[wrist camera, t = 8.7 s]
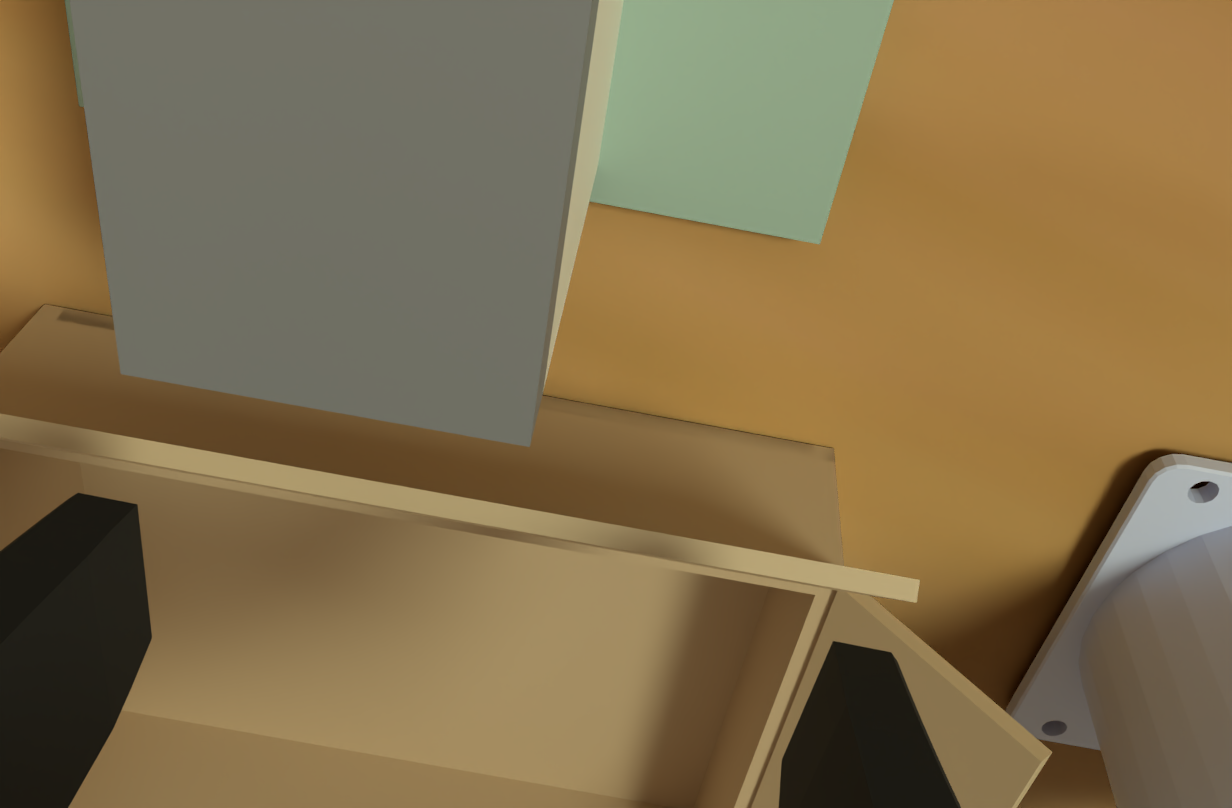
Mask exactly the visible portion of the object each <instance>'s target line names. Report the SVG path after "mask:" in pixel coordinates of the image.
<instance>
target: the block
mask: <svg viewBox="0 0 1232 808" xmlns="http://www.w3.org/2000/svg"><path fill="white" fill-rule="evenodd" d="M69 1H70V8H71V15H72V23H73V30H74V37H75V45H76V52H77V59H78V66H79V74H80V81H81V88H82V96H83V103H84V110H85V118H86V125H87V132H88V139H89V147H90V154H91V161H92V169H93V176H94V183H95V190H96V198H97V205H98V212H99V220H100V227H101V234H102V241H103V249H104V256H105V263H106V271H107V278H108V285H109V292H110V300H111V307H112V314H113V322H114V329H115V336H116V344H117V351H118V358H119V365H120V373H121V374H123V375H128V376H134V377H140V378H145V379H151V380H156V381H162V382H168V383H173V384H179V385H184V386H190V387H196V388H201V389H207V390H212V391H218V392H224V393H229V394H235V395H240V396H246V397H252V398H257V399H263V400H268V401H274V402H280V403H285V404H291V405H296V406H302V407H308V408H313V409H319V410H325V411H330V412H336V413H341V414H347V415H353V416H358V417H364V418H369V419H375V420H381V421H386V422H392V423H397V424H403V425H409V426H414V427H420V428H425V429H431V430H437V431H442V432H448V433H453V434H459V435H465V436H470V437H476V438H481V439H487V440H493V441H498V442H504V443H509V444H515V445H521V446H526V447H530V444H531V440H532V436H533V432H534V428H535V424H536V420H537V415H538V411H539V407H540V403H541V399H542V395H543V391H544V387H545V382H546V378H547V374H548V370H549V366H550V362H551V358H552V353H553V349H554V345H555V341H556V337H557V333H558V329H559V325H560V320H561V316H562V312H563V308H564V304H565V300H566V296H567V291H568V287H569V283H570V279H571V275H572V271H573V267H574V263H575V258H576V254H577V250H578V246H579V242H580V238H581V234H582V229H583V225H584V221H585V217H586V213H587V209H588V205H589V201H590V196H591V192H592V188H593V184H594V180H595V176H596V172H597V167H598V162H599V156H600V149H601V143H602V137H603V130H604V124H605V117H606V111H607V105H608V98H609V92H610V85H611V79H612V72H613V66H614V60H615V53H616V47H617V40H618V34H619V28H620V21H621V15H622V8H623V2H624V0H69Z"/></svg>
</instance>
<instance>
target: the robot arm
mask: <svg viewBox="0 0 1232 808" xmlns="http://www.w3.org/2000/svg"><path fill="white" fill-rule="evenodd" d="M1202 481H1210V482H1209V483H1208V484H1207V485H1206V486H1203V487H1201V488H1198V489H1190V488H1191V487H1192V486H1193V485H1194V484H1197V483H1199V482H1202ZM151 639H152V632H151V623H150V614H149V605H148V595H147V586H146V577H145V568H144V559H143V550H142V541H141V532H140V523H139V514H138V505H137V504H133V503H128V502H123V501H118V500H113V499H108V498H103V497H98V496H93V495H88V494H82V493H77V494H75V495H74V496H72V497H70V498H69V499H67V500H66V501H65V502H63V503H62V504H61V505H59V506H58V507H57V508H55V509H54V510H53V511H51V512H50V513H49V514H47V515H46V516H45V517H44V518H42V519H41V520H40V521H38V522H37V523H36V524H34V525H33V526H32V527H31V528H29V529H28V530H27V531H25V532H24V533H23V534H21V535H20V536H19V537H18V538H16V539H15V540H14V541H12V542H11V543H10V544H9V545H7V546H6V547H5V548H3V549H2V550H1V551H0V808H68V807H69V805H70V804H71V802H72V800H73V799H74V797H75V795H76V793H77V792H78V790H79V788H80V786H81V785H82V783H83V781H84V779H85V778H86V776H87V774H88V772H89V771H90V769H91V767H92V766H93V764H94V762H95V760H96V759H97V757H98V755H99V753H100V752H101V750H102V748H103V746H104V744H105V743H106V741H107V739H108V737H109V736H110V734H111V732H112V730H113V728H114V726H115V724H116V722H117V719H118V717H119V715H120V713H121V710H122V708H123V706H124V704H125V701H126V699H127V697H128V695H129V692H130V690H131V688H132V685H133V683H134V681H135V678H136V676H137V673H138V671H139V668H140V666H141V664H142V661H143V659H144V656H145V654H146V652H147V649H148V647H149V644H150V642H151ZM1005 712H1006V713H1008V714H1009V715H1010V716H1011V717H1012V718H1013V719H1015V720H1016V721H1017V722H1018V723H1019V724H1020V725H1021V726H1023V727H1024V728H1025V729H1026V730H1027V731H1028V732H1030V733H1031V734H1032V735H1033V736H1034V737H1035V738H1037V739H1040V740H1045V741H1051V742H1056V743H1062V744H1068V745H1073V746H1079V747H1084V748H1090V749H1096V750H1101V753H1102V757H1103V760H1104V764H1105V768H1106V771H1107V775H1108V778H1109V782H1110V785H1111V789H1112V792H1113V796H1114V799H1115V803H1116V807H1117V808H1232V463H1228V462H1223V461H1217V460H1212V459H1206V458H1201V457H1195V456H1190V455H1185V454H1170V455H1166V456H1162V457H1159V458H1158V459H1156V460H1154V461H1152V462H1151V463H1150V464H1149V465H1148V466H1147V467H1146V468H1145V470H1144V471H1143V473H1142V475H1141V476H1140V478H1139V480H1138V481H1137V483H1136V485H1135V487H1134V488H1133V490H1132V492H1131V494H1130V495H1129V497H1128V499H1127V500H1126V502H1125V504H1124V506H1123V507H1122V509H1121V511H1120V512H1119V514H1118V516H1117V518H1116V519H1115V521H1114V523H1113V525H1112V526H1111V528H1110V530H1109V531H1108V533H1107V535H1106V537H1105V538H1104V540H1103V542H1102V544H1101V545H1100V547H1099V549H1098V550H1097V552H1096V554H1095V556H1094V557H1093V559H1092V561H1091V562H1090V564H1089V566H1088V568H1087V569H1086V571H1085V573H1084V575H1083V576H1082V578H1081V580H1080V581H1079V583H1078V585H1077V587H1076V588H1075V590H1074V592H1073V593H1072V595H1071V597H1070V599H1069V600H1068V602H1067V604H1066V606H1065V607H1064V609H1063V611H1062V612H1061V614H1060V616H1059V618H1058V619H1057V621H1056V623H1055V625H1054V626H1053V628H1052V630H1051V631H1050V633H1049V635H1048V637H1047V638H1046V640H1045V642H1044V643H1043V645H1042V647H1041V649H1040V650H1039V652H1038V654H1037V656H1036V657H1035V659H1034V661H1033V662H1032V664H1031V666H1030V668H1029V669H1028V671H1027V673H1026V675H1025V676H1024V678H1023V680H1022V681H1021V683H1020V685H1019V687H1018V688H1017V690H1016V692H1015V693H1014V695H1013V697H1012V699H1011V700H1010V702H1009V704H1008V706H1007V707H1006V711H1005ZM779 808H961V806H960V804H959V802H958V800H957V798H956V796H955V793H954V791H953V789H952V787H951V785H950V783H949V781H948V778H947V776H946V774H945V772H944V770H943V767H942V765H941V763H940V761H939V758H938V756H937V754H936V752H935V749H934V747H933V745H932V743H931V740H930V738H929V736H928V734H927V731H926V729H925V727H924V724H923V722H922V720H921V717H920V715H919V712H918V710H917V708H916V705H915V703H914V701H913V698H912V696H911V693H910V691H909V688H908V686H907V683H906V681H905V679H904V676H903V674H902V671H901V669H900V666H899V664H898V661H897V660H896V659H895V657H894V656H893V654H892V653H891V652H887V651H882V650H877V649H872V648H867V647H862V646H857V645H852V644H847V643H842V642H836V641H833V642H832V644H831V647H830V649H829V651H828V654H827V656H826V658H825V661H824V663H823V665H822V668H821V670H820V672H819V675H818V677H817V679H816V682H815V684H814V686H813V688H812V691H811V693H810V695H809V698H808V700H807V702H806V705H805V707H804V709H803V712H802V714H801V716H800V719H799V721H798V723H797V726H796V728H795V730H794V732H793V735H792V737H791V739H790V742H789V744H788V746H787V749H786V751H785V753H784V756H783V758H782V763H781V778H780V794H779Z"/></svg>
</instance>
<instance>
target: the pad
mask: <svg viewBox="0 0 1232 808" xmlns="http://www.w3.org/2000/svg"><path fill="white" fill-rule="evenodd" d="M893 1H894V0H624V2H623V8H622V15H621V21H620V28H619V34H618V40H617V47H616V53H615V60H614V66H613V72H612V79H611V85H610V92H609V98H608V105H607V111H606V117H605V124H604V130H603V137H602V143H601V149H600V156H599V162H598V167H597V172H596V176H595V180H594V184H593V188H592V192H591V196H590V202H596V203H601V204H606V205H612V206H617V207H622V208H628V209H633V210H638V211H644V212H649V213H655V214H660V215H665V216H671V217H676V218H681V219H687V220H692V221H697V222H703V223H708V224H714V225H719V226H724V227H730V228H735V229H740V230H746V231H751V232H756V233H762V234H767V235H773V236H778V237H783V238H789V239H794V240H799V241H805V242H810V243H815V244H820V242H821V239H822V235H823V232H824V229H825V225H826V222H827V219H828V216H829V212H830V209H831V206H832V202H833V199H834V196H835V192H836V189H837V186H838V183H839V179H840V176H841V173H842V169H843V166H844V163H845V159H846V156H847V153H848V150H849V146H850V143H851V140H852V136H853V133H854V130H855V127H856V123H857V120H858V117H859V113H860V110H861V107H862V103H863V100H864V97H865V94H866V90H867V87H868V84H869V80H870V77H871V74H872V71H873V67H874V64H875V61H876V57H877V54H878V51H879V47H880V44H881V41H882V38H883V34H884V31H885V28H886V24H887V21H888V18H889V15H890V11H891V8H892V5H893ZM65 6H66V13H67V21H68V28H69V36H70V43H71V50H72V58H73V65H74V73H75V80H76V87H77V95H78V102H79V106H81V107H84V103H83V96H82V88H81V81H80V74H79V66H78V59H77V52H76V45H75V37H74V30H73V23H72V15H71V8H70V1H69V0H65Z"/></svg>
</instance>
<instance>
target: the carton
mask: <svg viewBox="0 0 1232 808" xmlns="http://www.w3.org/2000/svg"><path fill="white" fill-rule="evenodd" d="M77 493H82V494H88V495H93V496H98V497H103V498H108V499H113V500H118V501H123V502H128V503H133V504H137V505H138V514H139V523H140V532H141V541H142V550H143V559H144V568H145V577H146V586H147V595H148V605H149V614H150V623H151V632H152V639H151V642H150V644H149V647H148V649H147V652H146V654H145V656H144V659H143V661H142V664H141V666H140V668H139V671H138V673H137V676H136V678H135V681H134V683H133V685H132V688H131V690H130V692H129V695H128V697H127V699H126V701H125V704H124V706H123V708H122V710H121V713H120V715H119V717H118V719H117V722H116V724H115V726H114V728H113V730H112V732H111V734H110V736H109V737H108V739H107V741H106V743H105V744H104V746H103V748H102V750H101V752H100V753H99V755H98V757H97V759H96V760H95V762H94V764H93V766H92V767H91V769H90V771H89V772H88V774H87V776H86V778H85V779H84V781H83V783H82V785H81V786H80V788H79V790H78V792H77V793H76V795H75V797H74V799H73V800H72V802H71V804H70V805H69V807H68V808H779V794H780V778H781V763H782V758H783V756H784V753H785V751H786V749H787V746H788V744H789V742H790V739H791V737H792V735H793V732H794V730H795V728H796V726H797V723H798V721H799V719H800V716H801V714H802V712H803V709H804V707H805V705H806V702H807V700H808V698H809V695H810V693H811V691H812V688H813V686H814V684H815V682H816V679H817V677H818V675H819V672H820V670H821V668H822V665H823V663H824V661H825V658H826V656H827V654H828V651H829V649H830V647H831V644H832V642H833V641H836V642H842V643H847V644H852V645H857V646H862V647H867V648H872V649H877V650H882V651H887V652H891V653H892V654H893V656H894V657H895V659H896V660H897V661H898V664H899V666H900V669H901V671H902V674H903V676H904V679H905V681H906V683H907V686H908V688H909V691H910V693H911V696H912V698H913V701H914V703H915V705H916V708H917V710H918V712H919V715H920V717H921V720H922V722H923V724H924V727H925V729H926V731H927V734H928V736H929V738H930V740H931V743H932V745H933V747H934V749H935V752H936V754H937V756H938V758H939V761H940V763H941V765H942V767H943V770H944V772H945V774H946V776H947V778H948V781H949V783H950V785H951V787H952V789H953V791H954V793H955V796H956V798H957V800H958V802H959V804H960V806H961V808H1017V807H1018V805H1019V803H1020V802H1021V800H1022V799H1023V797H1024V796H1025V794H1026V793H1027V791H1028V789H1029V788H1030V786H1031V785H1032V783H1033V782H1034V780H1035V779H1036V777H1037V775H1038V774H1039V772H1040V771H1041V769H1042V768H1043V766H1044V765H1045V763H1046V761H1047V760H1048V758H1049V757H1050V755H1051V754H1052V751H1051V750H1049V749H1048V748H1047V747H1046V746H1045V745H1044V744H1042V743H1041V742H1040V741H1039V740H1038V739H1037V738H1035V737H1034V736H1033V735H1032V734H1031V733H1030V732H1028V731H1027V730H1026V729H1025V728H1024V727H1023V726H1021V725H1020V724H1019V723H1018V722H1017V721H1016V720H1015V719H1013V718H1012V717H1011V716H1010V715H1009V714H1008V713H1006V712H1005V711H1004V710H1003V709H1002V708H1001V707H999V706H998V705H997V704H996V703H995V702H994V701H992V700H991V699H990V698H989V697H988V696H987V695H985V694H984V693H983V692H982V691H981V690H980V689H978V688H977V687H976V686H975V685H974V684H973V683H971V682H970V681H969V680H968V679H967V678H966V677H964V676H963V675H962V674H961V673H960V672H959V671H957V670H956V669H955V668H954V667H953V666H952V665H950V664H949V663H948V662H947V661H946V660H945V659H943V658H942V657H941V656H940V655H939V654H938V653H937V652H935V651H934V650H933V649H932V648H931V647H930V646H928V645H927V644H926V643H925V642H924V641H923V640H921V639H920V638H919V637H918V636H917V635H916V634H914V633H913V632H912V631H911V630H910V629H909V628H907V627H906V626H905V625H904V624H903V623H902V622H900V621H899V620H898V619H897V618H896V617H895V616H893V615H892V614H891V613H890V612H889V611H888V610H886V609H885V608H884V607H883V606H882V605H881V604H879V603H878V602H877V601H876V600H875V599H874V598H872V597H871V596H875V597H881V598H888V599H895V600H902V601H908V602H915V603H917V597H918V590H919V583H920V580H918V579H912V578H907V577H901V576H896V575H890V574H885V573H879V572H873V571H868V570H862V569H857V568H851V567H846V566H844V560H843V549H842V537H841V526H840V514H839V502H838V491H837V479H836V468H835V456H834V449H833V448H828V447H822V446H817V445H811V444H806V443H800V442H795V441H789V440H784V439H779V438H773V437H768V436H762V435H757V434H751V433H746V432H740V431H735V430H729V429H724V428H718V427H713V426H707V425H702V424H697V423H691V422H686V421H680V420H675V419H669V418H664V417H658V416H653V415H647V414H642V413H636V412H631V411H625V410H620V409H615V408H609V407H604V406H598V405H593V404H587V403H582V402H576V401H571V400H565V399H560V398H554V397H549V396H543V395H542V399H541V403H540V407H539V411H538V415H537V420H536V424H535V428H534V432H533V436H532V440H531V444H530V447H526V446H521V445H515V444H509V443H504V442H498V441H493V440H487V439H481V438H476V437H470V436H465V435H459V434H453V433H448V432H442V431H437V430H431V429H425V428H420V427H414V426H409V425H403V424H397V423H392V422H386V421H381V420H375V419H369V418H364V417H358V416H353V415H347V414H341V413H336V412H330V411H325V410H319V409H313V408H308V407H302V406H296V405H291V404H285V403H280V402H274V401H268V400H263V399H257V398H252V397H246V396H240V395H235V394H229V393H224V392H218V391H212V390H207V389H201V388H196V387H190V386H184V385H179V384H173V383H168V382H162V381H156V380H151V379H145V378H140V377H134V376H128V375H123V374H121V373H120V365H119V358H118V351H117V344H116V336H115V329H114V322H113V317H112V316H106V315H101V314H95V313H90V312H84V311H79V310H73V309H68V308H63V307H57V306H52V305H46V304H44V305H43V306H42V307H41V308H40V310H39V311H38V312H37V313H36V314H35V315H34V316H33V317H32V318H31V320H30V321H29V322H28V323H27V324H26V325H25V326H24V327H23V328H22V329H21V331H20V332H19V333H18V334H17V335H16V336H15V337H14V338H13V339H12V340H11V342H10V343H9V344H8V345H7V346H6V347H5V348H4V349H3V350H2V352H1V353H0V551H1V550H2V549H3V548H5V547H6V546H7V545H9V544H10V543H11V542H12V541H14V540H15V539H16V538H18V537H19V536H20V535H21V534H23V533H24V532H25V531H27V530H28V529H29V528H31V527H32V526H33V525H34V524H36V523H37V522H38V521H40V520H41V519H42V518H44V517H45V516H46V515H47V514H49V513H50V512H51V511H53V510H54V509H55V508H57V507H58V506H59V505H61V504H62V503H63V502H65V501H66V500H67V499H69V498H70V497H72V496H74V495H75V494H77Z"/></svg>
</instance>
